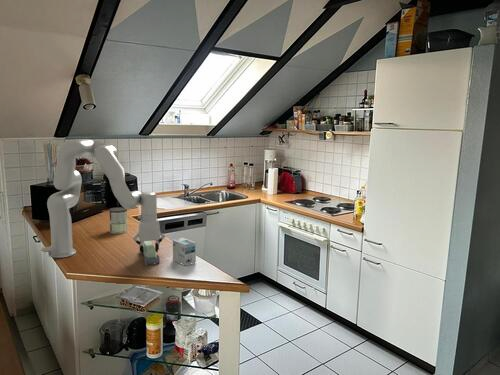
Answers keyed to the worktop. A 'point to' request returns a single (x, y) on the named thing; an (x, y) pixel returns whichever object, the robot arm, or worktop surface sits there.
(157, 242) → the robot arm
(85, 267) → the worktop surface
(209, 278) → the worktop surface
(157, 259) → the end caps
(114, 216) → the coffee can
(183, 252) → the light bulb box
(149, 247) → the slat
